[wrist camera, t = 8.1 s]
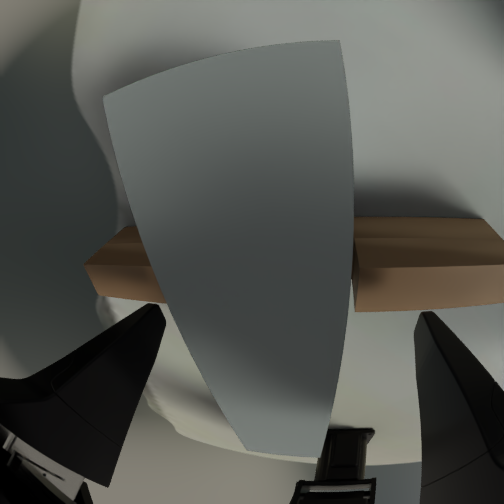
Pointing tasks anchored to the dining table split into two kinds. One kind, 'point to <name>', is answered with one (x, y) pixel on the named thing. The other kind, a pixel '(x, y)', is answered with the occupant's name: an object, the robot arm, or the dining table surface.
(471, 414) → the robot arm
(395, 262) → the slotted walnut board
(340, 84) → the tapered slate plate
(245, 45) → the dining table surface
